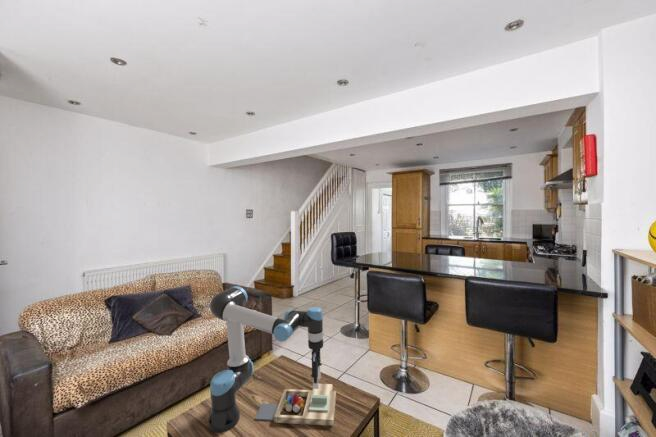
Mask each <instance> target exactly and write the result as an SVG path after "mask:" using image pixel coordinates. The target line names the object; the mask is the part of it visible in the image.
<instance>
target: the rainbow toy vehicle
mask: <svg viewBox="0 0 656 437" xmlns="http://www.w3.org/2000/svg"><path fill="white" fill-rule="evenodd" d="M303 407H304V399H303V397H299V395H297V396H295V395H294V394H292V395H291V396H286V400H285V410H286V411H287V412H289V413H290V412H292V411H293V412H294V413H296V414H297V413H299V412H300V411H301V409H302V408H303Z"/></svg>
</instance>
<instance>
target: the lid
mask: <svg viewBox="0 0 656 437" xmlns="http://www.w3.org/2000/svg"><path fill="white" fill-rule="evenodd" d="M329 399H330V396H329V395H312V397H311V401H310V406H309V411H328V407H329Z"/></svg>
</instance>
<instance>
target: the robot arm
mask: <svg viewBox="0 0 656 437" xmlns="http://www.w3.org/2000/svg"><path fill="white" fill-rule="evenodd" d="M247 302H248V293H247V291H246V290H245V289H244V288H242V287H241V286H237V285H235V286H231V287H229V288H227V289H225V290H223V291H221V292H218V293H216V294H215V295H214V296H213V297H212V298H211V300H210V304H209V309H210V312H211V314H212V315H213V316H214V317H215V318H217V319H218V320H220V321H225V323H226V334H227V343H228V346H227V347H228V354H229V359H228V360H227V362H226V366H227V369H223V370H221V371H218V372H217V373H216V374H215V375H213V377H212V378H211V380H210V387H209V390H210V405H211V410H210V413H209V417H208V420H207V422H208V425H207V426H208V429H209V430H210V431H212V432H214V433H223V432H227V431H229V430H231V429H232V428H234V427H235V426H236V425H237V424H238V423H239V421H240V418H241V414H240V413H241V412H240V409H239V406H238V404H237V399H236V398H237V397H236V393H238V391H239V390H240V389H241V388H242V387H244V385H245V384H246V383H247V382H248V381H249V380H250V378H251V377H252V375H253V373H254V369H255V367H254V362H253V361H252V360H251V358H250V357H249V356H248V355H247V354H246V343H245V332H244V326H247V327H249V328H250V327H251V328H253V329H256V330H259V331H262V332H265V333H269V334H272V335H273V336H274V339H276V340H277V341H278V342H286V341H287V340H288V339H290V338H291V336H292V335H293V334H294V333H295V331H297V330H298V329H299V327H300V328H307V339H308V340H307V341H308V342H307V344H308V345H307V347H308V349H310V350H311V375H310V377H311V378H312V390H313V389H319V384H320V383H319V380H321V377H322V376H321V375H322V374H321V366H322V365H323V364H322V360H321V349H323V348H324V335H325V333H324V331H323V330H324V327H323V320H324V317H323V316H324V315H323V310H322V308H321V307H318V306H313V307H309V308H308V309H307V310H306V311H305V310H304V311H302V310H295V309H287V311H286V312H285V313H284V316H283V318H280V317H277V316H274V315H270V314H267V313H263V312H260V311H258V310H254V309H250V308H247V307H245V305H246V303H247Z"/></svg>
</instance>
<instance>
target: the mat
mask: <svg viewBox="0 0 656 437" xmlns="http://www.w3.org/2000/svg"><path fill="white" fill-rule="evenodd" d="M278 405H279V403H264V402H263V403H261V404H260V406H259V409H258V411H257V413H256V415H255V417H254V421H266V422H267V421H269V422H271V421H272V422H274V415H275V412H276V410H277V407H278Z"/></svg>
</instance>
